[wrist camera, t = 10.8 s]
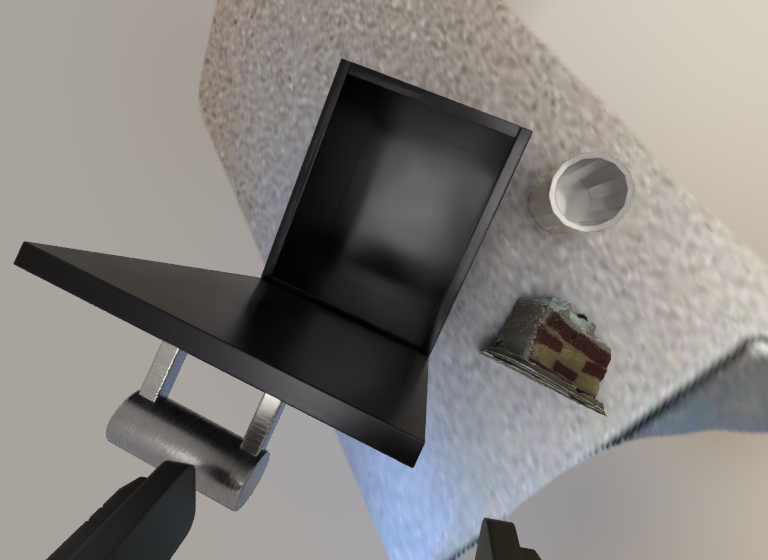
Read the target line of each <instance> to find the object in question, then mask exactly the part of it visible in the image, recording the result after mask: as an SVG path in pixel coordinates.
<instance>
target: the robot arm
mask: <svg viewBox="0 0 768 560" xmlns="http://www.w3.org/2000/svg"><path fill="white" fill-rule="evenodd" d="M195 492H196V470H195V466H194V465H192V464H187V463H181V462H175V461H170V460H166V461H164V462H163V463H161V464H160V465H159V466H158V467H157V468H156V470H154V471H153V473H152V474H151V475H150V476H149V477H148V478H146V477H139V478H137V479H136V480H134V481H132V482H130V483H129V484H127V485H125V486H123V487H122V488H120V489H119V490H118V491H117V492H116V493H115V494H114V495H113V496H112V497H111V498H109V500H107V501H106V502H105V503H104V504H103V507H102V508H99V509H98V510H97V511H96V512H95V513H94V514H93V515H92V516H91V517H90V519H89V521H86V522H85V523H84V524H83V525H82V526H80V527H79V528H78V529H77V530H76V531H75V532H74V533H73V534H72V535H71V536H70V537H69V538H68V539H67V540H66V541H65V542H64V543H63V544H62V545H61V546H60V547H59V548H58V549H57V550H56V551H55V552H54V553H53V554H51V555H50V556H49V558H47V559H46V560H170V559H171V557H172V556H173V554H174V553H175V552H176V550H177V549H178V547H179V546H180V544H181V543H182V542H183V540H184V539H185V537H186V536H187V534H188V532H189V530H190V528H191V526H192V523H193V520H194V516H195V507H196V505H195V501H196V497H195V496H196V494H195ZM475 560H541V558H540V557H539V556H538V554H537V553H536V551H535V550H533V549H528V548H522V547H520V545H519V541H518V537H517V533H516V529H515V526H514V524H513V523H512V522H506V521H501V520H495V519H490V518H484V519H483V521H482V526H481V531H480V536H479V541H478V546H477V551H476V556H475Z"/></svg>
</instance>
